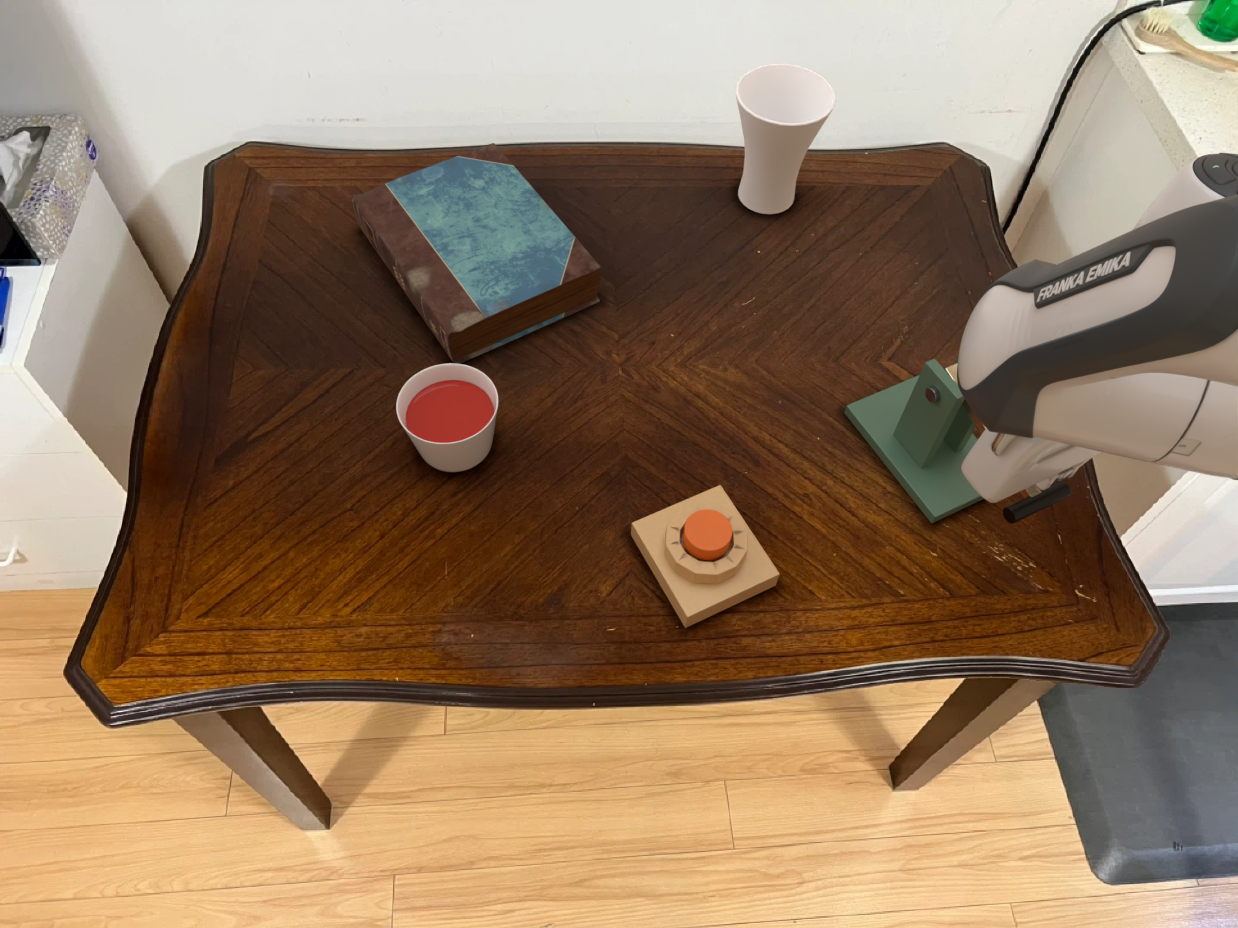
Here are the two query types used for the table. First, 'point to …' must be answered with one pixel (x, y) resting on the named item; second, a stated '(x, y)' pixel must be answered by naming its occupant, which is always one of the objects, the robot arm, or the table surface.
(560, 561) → the table surface
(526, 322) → the book
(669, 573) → the call button
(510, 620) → the table surface
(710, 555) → the button
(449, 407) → the white round tub
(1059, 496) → the lever handle
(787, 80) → the cup
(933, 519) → the green lever stand
